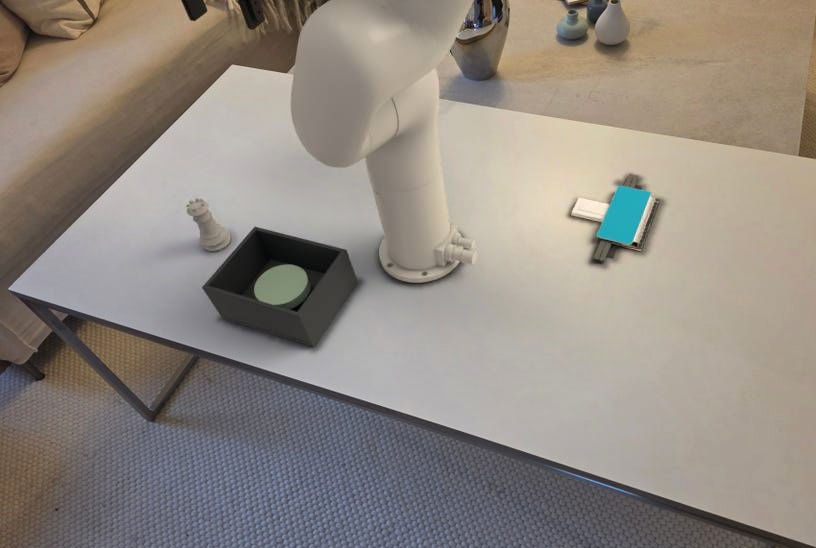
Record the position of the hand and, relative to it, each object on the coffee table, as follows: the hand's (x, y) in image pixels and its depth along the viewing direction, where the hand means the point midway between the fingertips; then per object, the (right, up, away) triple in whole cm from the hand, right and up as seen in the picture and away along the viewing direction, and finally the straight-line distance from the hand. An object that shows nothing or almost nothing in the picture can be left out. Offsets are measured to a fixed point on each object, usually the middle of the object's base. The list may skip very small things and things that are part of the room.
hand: (227, 20), depth 81 cm
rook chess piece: (-7, -29, +12) cm, 32 cm away
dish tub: (+8, -38, +3) cm, 39 cm away
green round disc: (+7, -38, +3) cm, 39 cm away
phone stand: (+55, -25, +10) cm, 61 cm away
